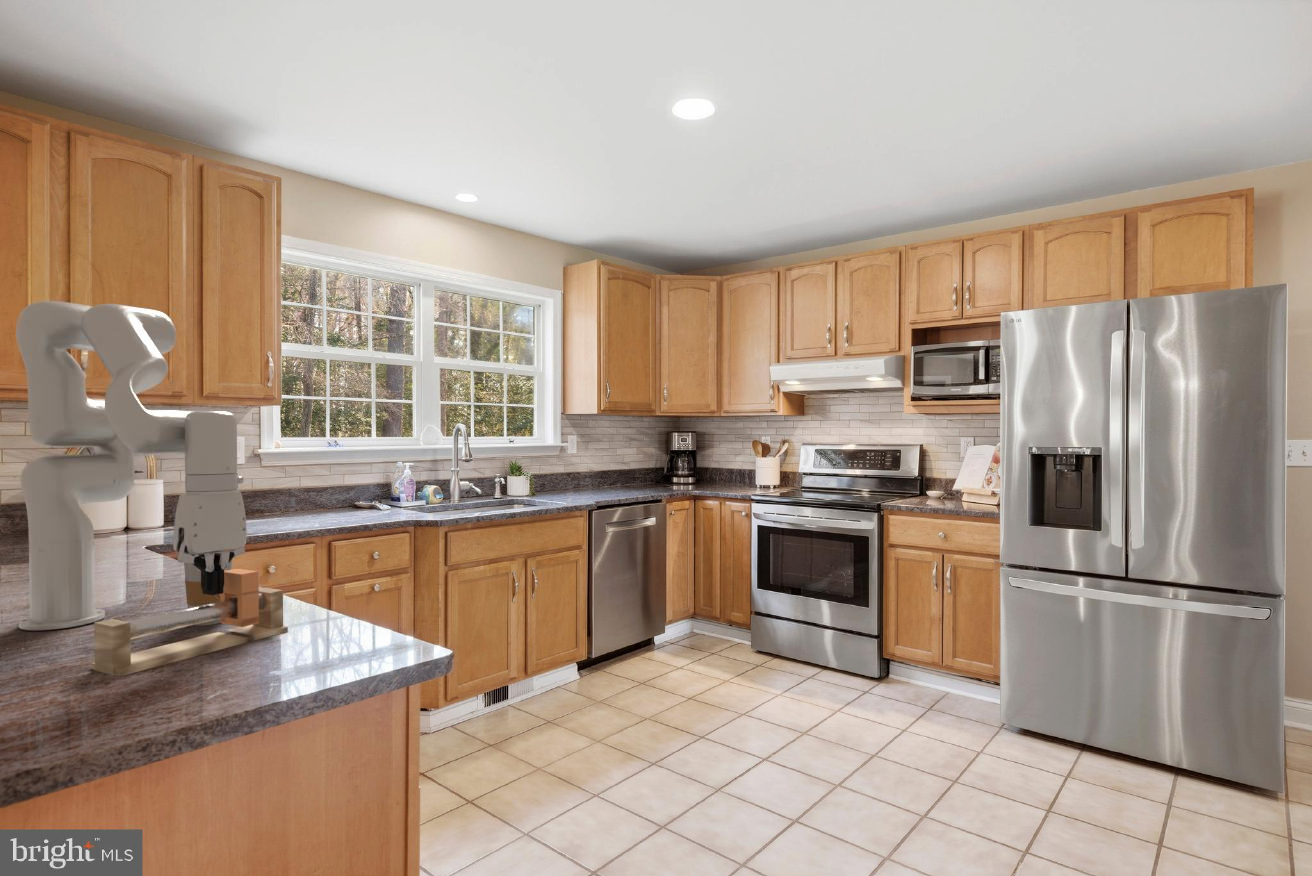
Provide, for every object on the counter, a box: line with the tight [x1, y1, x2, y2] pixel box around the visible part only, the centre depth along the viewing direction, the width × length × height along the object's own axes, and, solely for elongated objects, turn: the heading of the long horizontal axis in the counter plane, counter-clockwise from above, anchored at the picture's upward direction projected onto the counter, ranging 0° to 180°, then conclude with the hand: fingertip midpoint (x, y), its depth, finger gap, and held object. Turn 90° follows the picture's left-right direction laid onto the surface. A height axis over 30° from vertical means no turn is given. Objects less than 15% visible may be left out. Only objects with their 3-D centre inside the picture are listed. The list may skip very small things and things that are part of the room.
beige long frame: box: [90, 587, 289, 677], centre depth 121 cm, size 27×8×7 cm, turn 152°
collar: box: [220, 568, 260, 627], centre depth 127 cm, size 3×6×9 cm, turn 62°
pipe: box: [125, 593, 267, 640], centre depth 121 cm, size 25×3×3 cm, turn 152°
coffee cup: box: [183, 553, 233, 626], centre depth 138 cm, size 8×8×15 cm
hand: (212, 593), depth 123 cm, fingers closed
